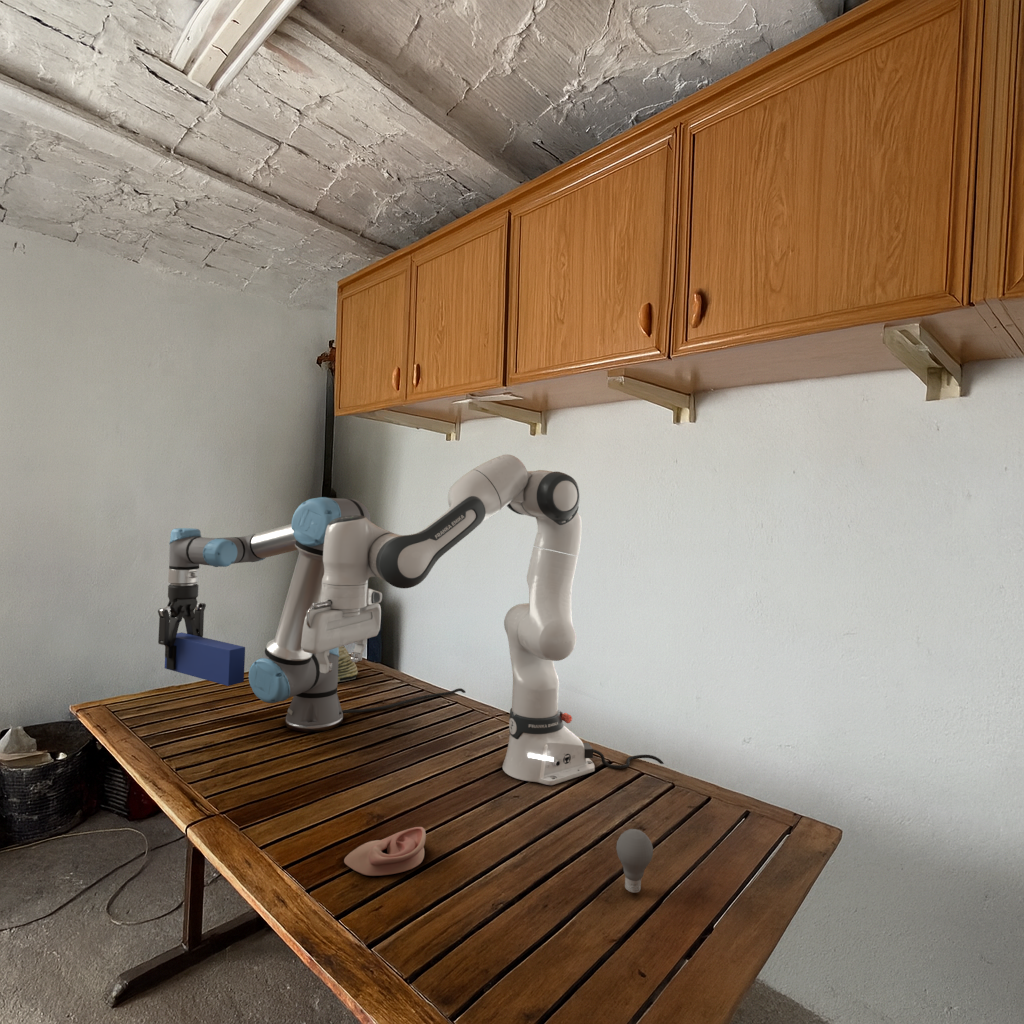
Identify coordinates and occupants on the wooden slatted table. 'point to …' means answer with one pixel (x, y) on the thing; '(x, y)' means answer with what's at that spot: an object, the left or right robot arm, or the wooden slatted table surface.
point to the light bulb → (634, 857)
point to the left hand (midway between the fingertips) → (180, 666)
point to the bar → (209, 659)
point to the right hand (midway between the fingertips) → (341, 666)
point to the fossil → (346, 666)
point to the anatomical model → (389, 853)
